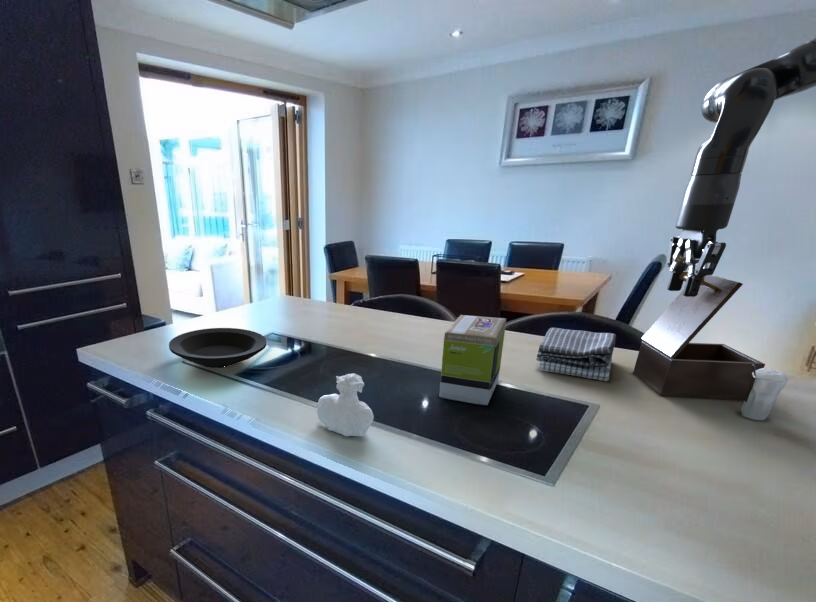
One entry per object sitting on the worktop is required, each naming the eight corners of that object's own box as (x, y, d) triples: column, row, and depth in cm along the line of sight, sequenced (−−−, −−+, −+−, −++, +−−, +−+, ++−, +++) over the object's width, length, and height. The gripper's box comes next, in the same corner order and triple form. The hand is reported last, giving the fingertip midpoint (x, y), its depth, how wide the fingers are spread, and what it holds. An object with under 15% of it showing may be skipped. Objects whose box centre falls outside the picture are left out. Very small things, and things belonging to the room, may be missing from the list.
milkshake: (725, 409, 84) (744, 360, 80) (758, 411, 83) (779, 362, 79) (741, 420, 80) (762, 369, 76) (777, 423, 79) (800, 371, 75)
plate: (154, 360, 120) (151, 340, 117) (228, 340, 134) (226, 322, 132) (208, 389, 100) (205, 366, 98) (287, 362, 115) (286, 342, 113)
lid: (702, 272, 91) (678, 261, 91) (743, 284, 80) (716, 271, 80) (644, 339, 98) (622, 329, 98) (674, 358, 87) (649, 346, 87)
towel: (612, 359, 110) (620, 329, 107) (607, 384, 96) (616, 350, 93) (544, 349, 118) (550, 321, 115) (531, 371, 105) (537, 339, 102)
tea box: (453, 374, 104) (460, 312, 98) (499, 381, 100) (509, 317, 94) (437, 398, 92) (444, 330, 87) (488, 407, 88) (498, 336, 82)
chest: (711, 377, 98) (723, 343, 95) (750, 400, 87) (765, 364, 84) (632, 373, 102) (641, 341, 98) (660, 395, 90) (671, 360, 87)
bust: (373, 447, 79) (395, 389, 81) (356, 438, 73) (379, 376, 75) (321, 428, 86) (341, 375, 88) (301, 418, 80) (323, 362, 82)
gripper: (759, 201, 74) (726, 301, 81) (708, 200, 87) (683, 286, 93) (707, 203, 76) (678, 301, 82) (664, 201, 88) (642, 286, 95)
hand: (681, 292), depth 88 cm, fingers closed on lid, 5 cm apart
